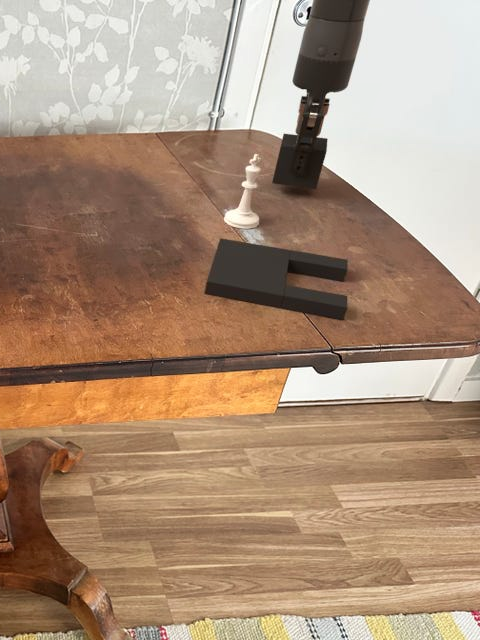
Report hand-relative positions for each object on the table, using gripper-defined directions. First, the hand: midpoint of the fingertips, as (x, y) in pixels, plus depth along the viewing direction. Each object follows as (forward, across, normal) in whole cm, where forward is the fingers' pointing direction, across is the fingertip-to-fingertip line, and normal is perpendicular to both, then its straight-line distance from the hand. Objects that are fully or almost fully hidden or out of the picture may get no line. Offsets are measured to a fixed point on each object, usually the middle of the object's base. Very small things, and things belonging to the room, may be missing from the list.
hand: (298, 166), depth 109 cm
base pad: (+4, -30, 0) cm, 30 cm away
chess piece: (+4, -14, +6) cm, 16 cm away
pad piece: (+2, 0, 0) cm, 2 cm away
